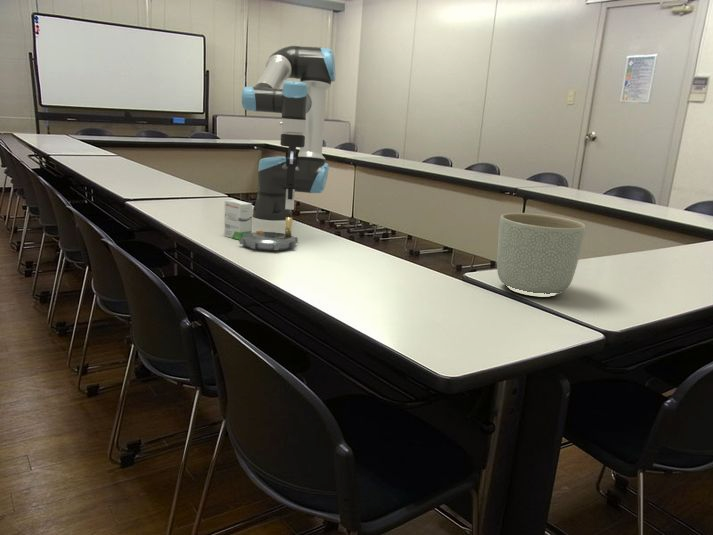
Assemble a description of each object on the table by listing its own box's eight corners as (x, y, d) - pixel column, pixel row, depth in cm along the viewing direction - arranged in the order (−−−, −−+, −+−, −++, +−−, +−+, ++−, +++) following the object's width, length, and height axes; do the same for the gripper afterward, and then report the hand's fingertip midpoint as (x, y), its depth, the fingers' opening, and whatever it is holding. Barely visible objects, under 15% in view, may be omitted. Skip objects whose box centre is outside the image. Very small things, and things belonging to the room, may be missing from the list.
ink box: (252, 239, 186) (253, 203, 182) (240, 241, 182) (240, 204, 179) (235, 234, 191) (236, 199, 188) (223, 235, 187) (223, 200, 184)
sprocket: (259, 234, 189) (260, 210, 187) (308, 243, 182) (309, 218, 180) (227, 244, 173) (227, 218, 171) (279, 253, 166) (280, 226, 164)
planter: (573, 309, 138) (587, 232, 133) (485, 295, 144) (496, 220, 139) (573, 288, 157) (585, 219, 152) (495, 275, 163) (505, 209, 158)
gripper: (281, 132, 184) (278, 205, 190) (279, 133, 171) (276, 211, 177) (305, 134, 185) (301, 206, 190) (305, 135, 172) (301, 213, 178)
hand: (289, 209), depth 184 cm, fingers closed
